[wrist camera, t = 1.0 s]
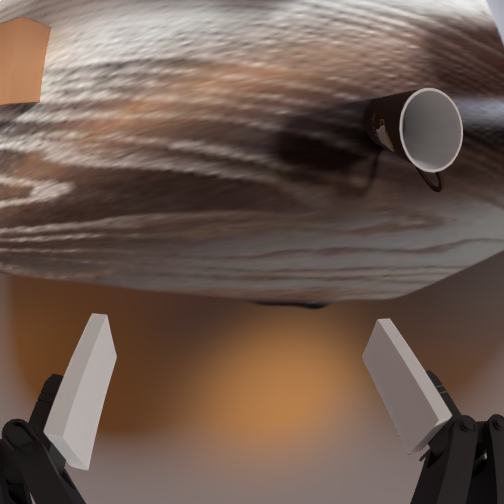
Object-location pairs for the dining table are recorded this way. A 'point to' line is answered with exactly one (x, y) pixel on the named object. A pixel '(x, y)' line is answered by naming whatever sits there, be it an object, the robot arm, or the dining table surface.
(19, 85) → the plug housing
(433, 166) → the coffee mug
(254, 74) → the dining table surface
